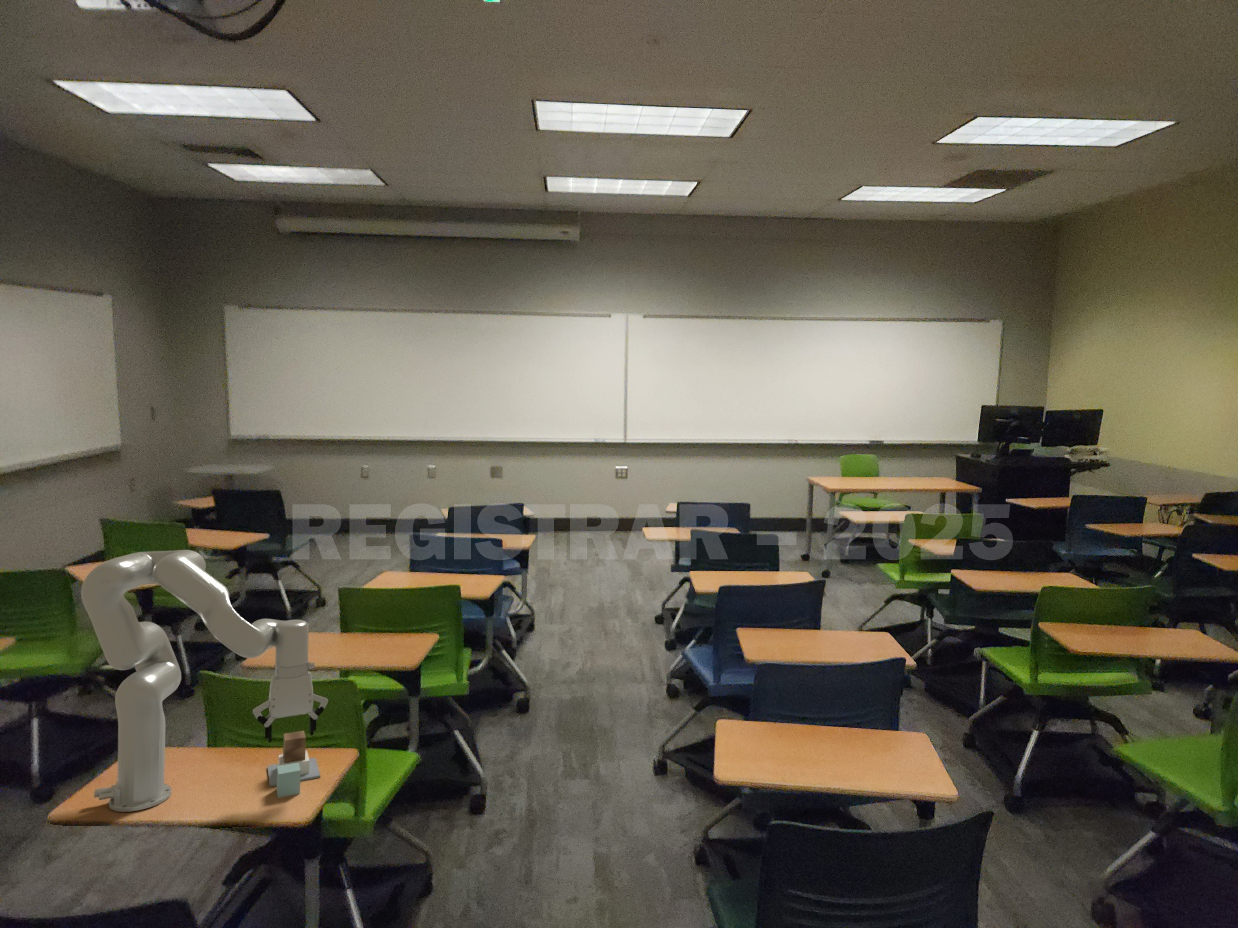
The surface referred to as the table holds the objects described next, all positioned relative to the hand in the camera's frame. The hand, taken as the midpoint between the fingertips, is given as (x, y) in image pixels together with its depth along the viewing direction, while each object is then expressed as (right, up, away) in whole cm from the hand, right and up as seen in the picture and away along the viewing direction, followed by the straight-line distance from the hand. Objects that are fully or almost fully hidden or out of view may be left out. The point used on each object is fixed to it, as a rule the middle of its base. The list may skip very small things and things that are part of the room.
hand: (290, 736), depth 176 cm
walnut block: (-4, -10, +10) cm, 15 cm away
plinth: (-4, -14, +10) cm, 17 cm away
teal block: (-1, -14, 0) cm, 14 cm away
